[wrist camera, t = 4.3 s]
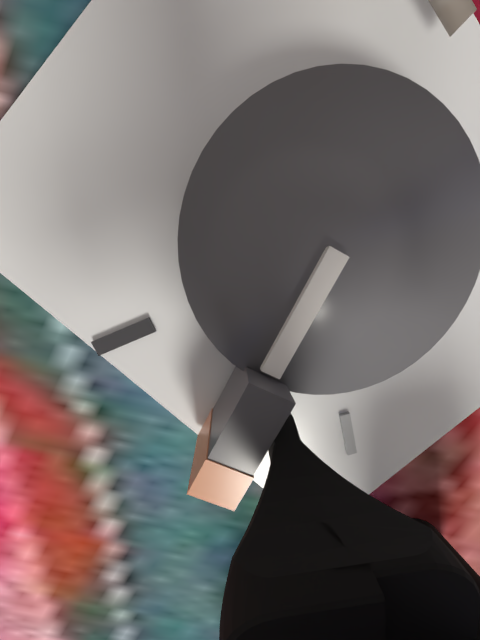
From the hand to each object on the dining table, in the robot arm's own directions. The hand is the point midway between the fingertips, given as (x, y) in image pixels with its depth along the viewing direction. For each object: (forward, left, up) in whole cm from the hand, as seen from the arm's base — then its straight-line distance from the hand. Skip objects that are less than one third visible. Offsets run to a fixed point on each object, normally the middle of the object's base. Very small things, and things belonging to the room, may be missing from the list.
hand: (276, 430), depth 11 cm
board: (-7, -4, -2) cm, 8 cm away
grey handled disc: (-5, -4, -1) cm, 6 cm away
